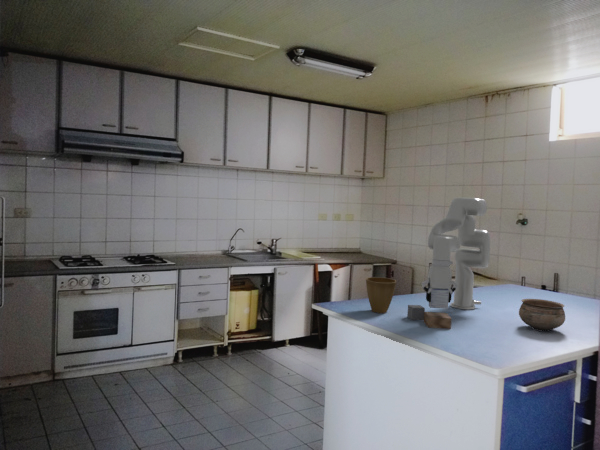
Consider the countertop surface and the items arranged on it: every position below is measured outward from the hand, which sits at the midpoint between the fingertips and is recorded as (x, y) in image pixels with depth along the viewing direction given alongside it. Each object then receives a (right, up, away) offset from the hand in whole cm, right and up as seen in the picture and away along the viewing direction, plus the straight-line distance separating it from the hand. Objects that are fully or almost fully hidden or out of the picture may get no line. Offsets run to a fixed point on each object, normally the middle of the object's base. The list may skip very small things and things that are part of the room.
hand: (438, 301), depth 217 cm
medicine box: (0, -3, 0) cm, 3 cm away
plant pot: (-23, -9, +22) cm, 33 cm away
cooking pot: (+47, -13, +2) cm, 49 cm away
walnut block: (-1, -11, +1) cm, 11 cm away
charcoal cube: (-8, -10, +11) cm, 17 cm away
